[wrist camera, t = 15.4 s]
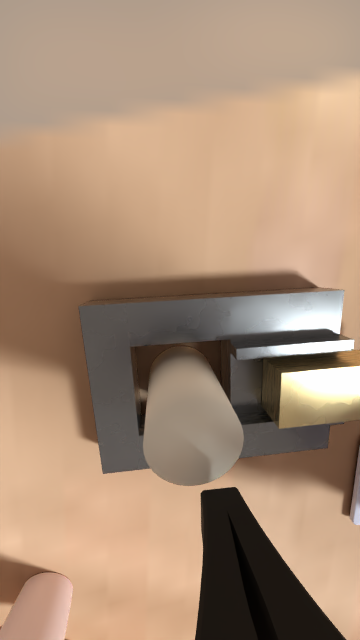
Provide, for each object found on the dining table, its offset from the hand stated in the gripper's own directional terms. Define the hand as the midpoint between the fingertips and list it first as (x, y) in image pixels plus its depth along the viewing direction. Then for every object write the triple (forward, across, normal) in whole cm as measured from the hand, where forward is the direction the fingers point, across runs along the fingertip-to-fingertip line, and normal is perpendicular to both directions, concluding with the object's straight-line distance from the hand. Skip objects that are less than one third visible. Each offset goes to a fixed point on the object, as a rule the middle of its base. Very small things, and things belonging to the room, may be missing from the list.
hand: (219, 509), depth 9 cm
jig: (+7, -1, -2) cm, 7 cm away
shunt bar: (+5, -8, -3) cm, 9 cm away
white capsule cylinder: (+7, +1, -2) cm, 7 cm away
